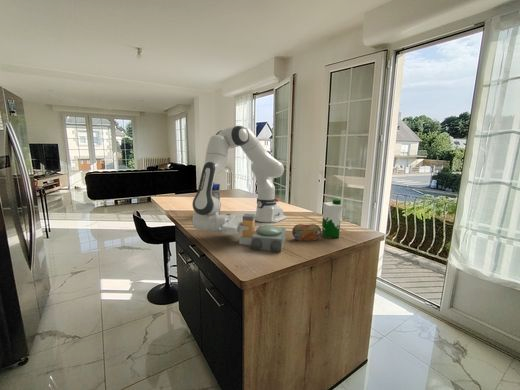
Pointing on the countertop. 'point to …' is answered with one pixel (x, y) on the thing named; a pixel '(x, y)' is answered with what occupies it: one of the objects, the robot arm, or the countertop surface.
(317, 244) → the countertop surface
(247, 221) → the orange gray block
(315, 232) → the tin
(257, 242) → the gray toy machine
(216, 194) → the beverage box
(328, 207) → the milk carton
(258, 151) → the robot arm
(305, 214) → the countertop surface
